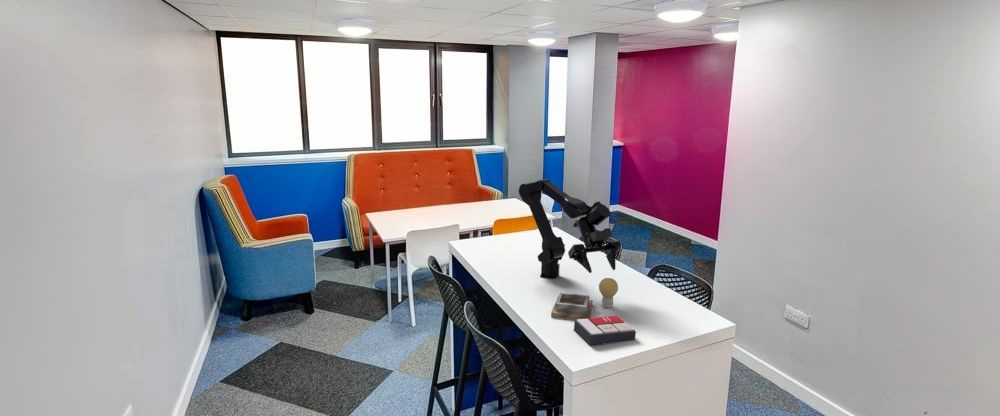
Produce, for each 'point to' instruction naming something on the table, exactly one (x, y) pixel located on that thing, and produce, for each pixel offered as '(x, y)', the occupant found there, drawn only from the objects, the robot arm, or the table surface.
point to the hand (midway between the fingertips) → (602, 271)
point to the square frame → (572, 306)
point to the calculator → (604, 330)
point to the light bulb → (608, 291)
